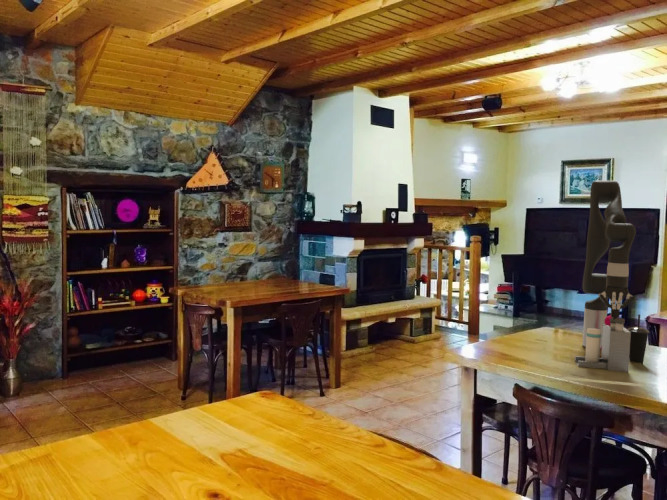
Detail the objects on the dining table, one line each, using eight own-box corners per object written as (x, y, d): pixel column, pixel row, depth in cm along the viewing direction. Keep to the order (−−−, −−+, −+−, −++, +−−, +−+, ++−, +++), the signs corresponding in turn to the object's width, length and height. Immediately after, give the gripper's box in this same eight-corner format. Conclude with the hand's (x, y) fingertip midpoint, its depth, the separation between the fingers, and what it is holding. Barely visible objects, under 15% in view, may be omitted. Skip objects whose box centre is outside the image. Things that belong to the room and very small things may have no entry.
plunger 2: (613, 334, 214) (614, 317, 213) (622, 335, 213) (623, 318, 212) (615, 336, 211) (616, 319, 210) (624, 337, 210) (625, 320, 209)
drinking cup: (621, 360, 230) (624, 312, 229) (639, 361, 231) (642, 312, 229) (632, 366, 222) (636, 316, 221) (651, 366, 223) (654, 316, 222)
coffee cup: (583, 362, 222) (585, 327, 221) (597, 363, 220) (599, 328, 219) (585, 366, 217) (588, 330, 216) (600, 367, 215) (602, 331, 214)
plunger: (608, 334, 221) (609, 317, 221) (617, 334, 221) (618, 318, 220) (610, 335, 218) (611, 319, 218) (619, 336, 218) (620, 319, 217)
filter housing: (573, 362, 226) (576, 323, 225) (620, 366, 221) (622, 326, 220) (579, 370, 214) (581, 328, 213) (628, 374, 210) (630, 332, 209)
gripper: (633, 274, 220) (630, 318, 221) (597, 272, 223) (594, 315, 224) (638, 276, 213) (635, 321, 214) (601, 274, 216) (598, 319, 217)
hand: (614, 318), depth 219 cm, fingers closed
